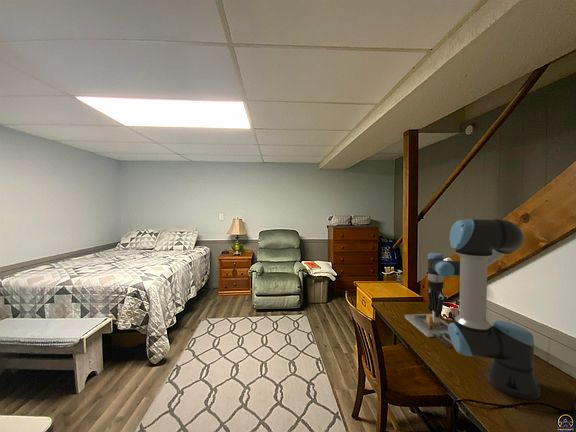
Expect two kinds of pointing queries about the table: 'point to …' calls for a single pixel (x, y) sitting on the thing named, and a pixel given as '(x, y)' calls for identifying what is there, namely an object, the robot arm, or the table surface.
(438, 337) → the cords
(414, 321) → the panel
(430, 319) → the light brown block
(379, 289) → the table surface
